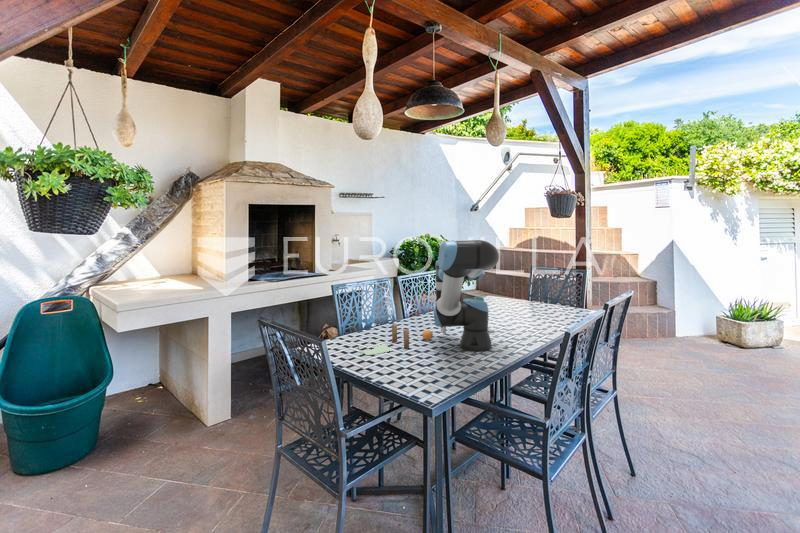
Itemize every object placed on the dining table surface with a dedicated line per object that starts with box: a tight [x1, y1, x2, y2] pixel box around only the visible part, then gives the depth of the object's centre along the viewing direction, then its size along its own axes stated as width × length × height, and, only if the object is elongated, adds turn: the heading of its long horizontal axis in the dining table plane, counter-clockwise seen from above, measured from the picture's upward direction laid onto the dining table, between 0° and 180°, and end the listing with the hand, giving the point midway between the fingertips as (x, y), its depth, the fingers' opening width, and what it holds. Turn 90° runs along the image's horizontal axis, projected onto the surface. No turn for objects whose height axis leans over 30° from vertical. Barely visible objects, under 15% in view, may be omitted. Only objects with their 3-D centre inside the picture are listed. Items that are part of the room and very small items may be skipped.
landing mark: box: [360, 343, 395, 356], centre depth 185 cm, size 14×14×1 cm
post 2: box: [403, 328, 410, 350], centre depth 186 cm, size 3×3×9 cm
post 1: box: [391, 323, 398, 343], centre depth 197 cm, size 3×3×9 cm
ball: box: [421, 329, 433, 341], centre depth 199 cm, size 6×6×6 cm
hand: (443, 332), depth 204 cm, fingers closed
